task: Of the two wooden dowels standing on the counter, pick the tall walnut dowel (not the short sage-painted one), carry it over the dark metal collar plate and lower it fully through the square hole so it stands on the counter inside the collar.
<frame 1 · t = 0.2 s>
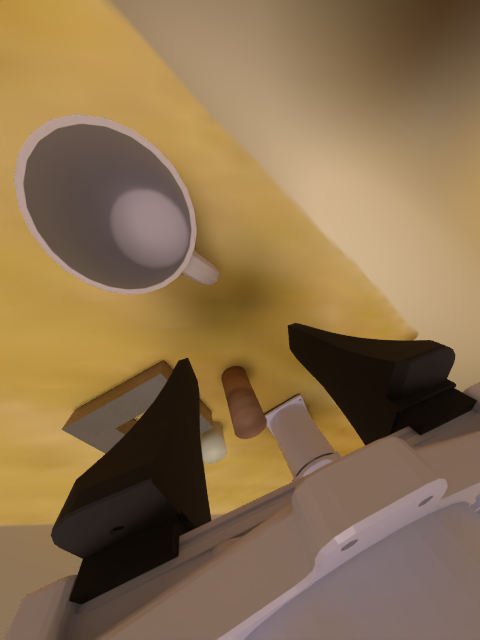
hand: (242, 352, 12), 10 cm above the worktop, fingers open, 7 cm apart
cup: (167, 242, 17), on the worktop
walnut dowel: (233, 376, 25), on the worktop
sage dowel: (211, 429, 29), on the worktop
collar plate: (151, 411, 24), on the worktop
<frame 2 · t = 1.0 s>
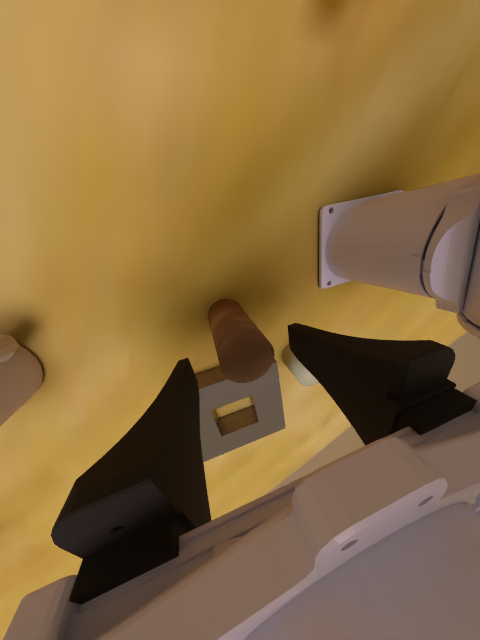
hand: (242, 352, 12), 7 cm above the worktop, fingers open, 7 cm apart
cup: (3, 356, 15), on the worktop
walnut dowel: (225, 315, 18), on the worktop
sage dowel: (293, 353, 23), on the worktop
collar plate: (231, 400, 23), on the worktop
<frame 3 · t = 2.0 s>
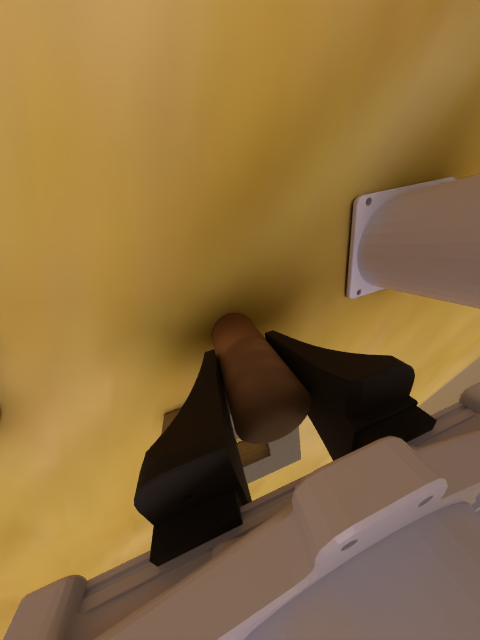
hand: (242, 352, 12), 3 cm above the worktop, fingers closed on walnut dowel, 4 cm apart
walnut dowel: (233, 333, 15), on the worktop, touching gripper
collar plate: (238, 428, 19), on the worktop
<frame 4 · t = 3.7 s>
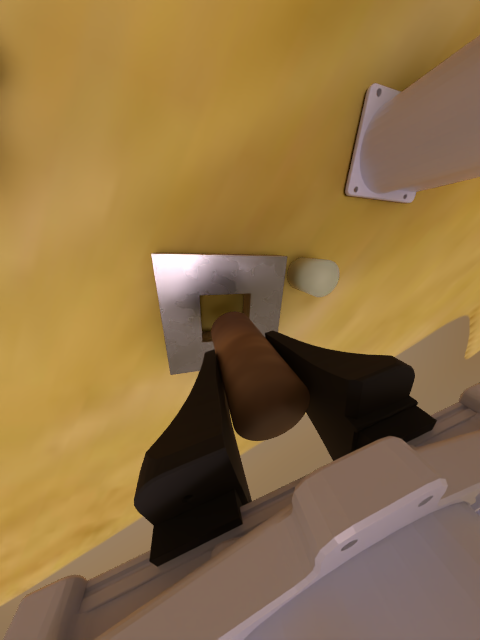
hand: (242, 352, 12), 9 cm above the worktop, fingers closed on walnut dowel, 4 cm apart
walnut dowel: (232, 331, 15), point 6 cm above the worktop, touching gripper
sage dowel: (300, 273, 21), on the worktop
collar plate: (222, 310, 20), on the worktop
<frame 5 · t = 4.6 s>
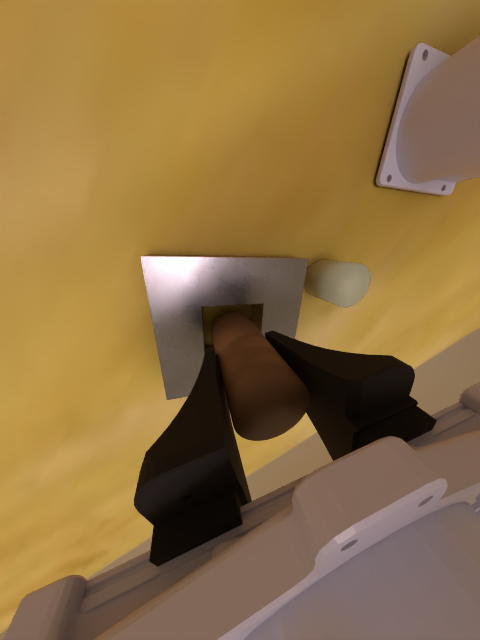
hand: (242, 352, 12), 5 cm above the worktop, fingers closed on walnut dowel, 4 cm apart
walnut dowel: (232, 331, 15), point 2 cm above the worktop, touching gripper
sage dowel: (319, 278, 18), on the worktop
collar plate: (227, 321, 17), on the worktop
when the fingers open (4 cm above the worktop, at t = 5.3 s): walnut dowel stays where it is, resting in collar plate.
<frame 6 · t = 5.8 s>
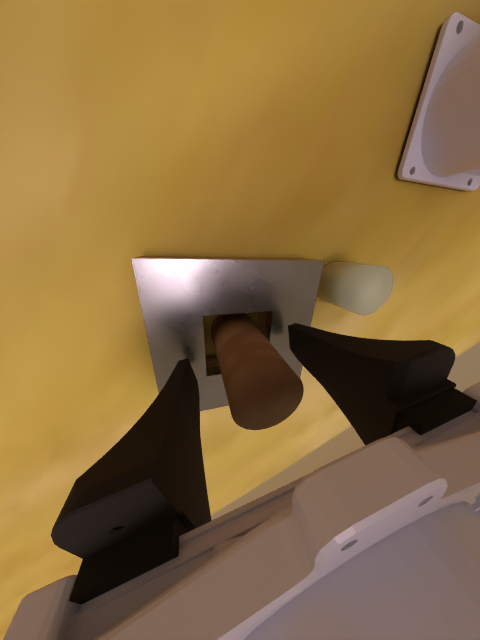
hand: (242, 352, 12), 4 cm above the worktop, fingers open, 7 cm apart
walnut dowel: (231, 328, 15), resting in collar plate
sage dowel: (331, 281, 16), on the worktop
collar plate: (231, 330, 15), on the worktop
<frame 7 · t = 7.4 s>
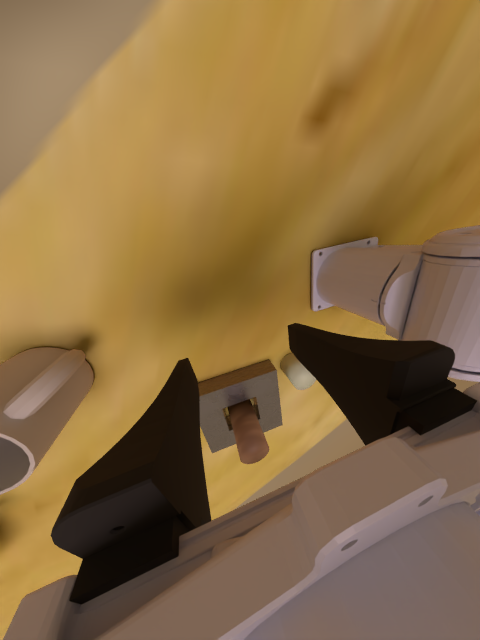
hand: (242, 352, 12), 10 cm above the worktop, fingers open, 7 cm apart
cup: (65, 364, 19), on the worktop
walnut dowel: (237, 399, 27), resting in collar plate
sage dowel: (290, 362, 27), on the worktop
collar plate: (238, 400, 27), on the worktop
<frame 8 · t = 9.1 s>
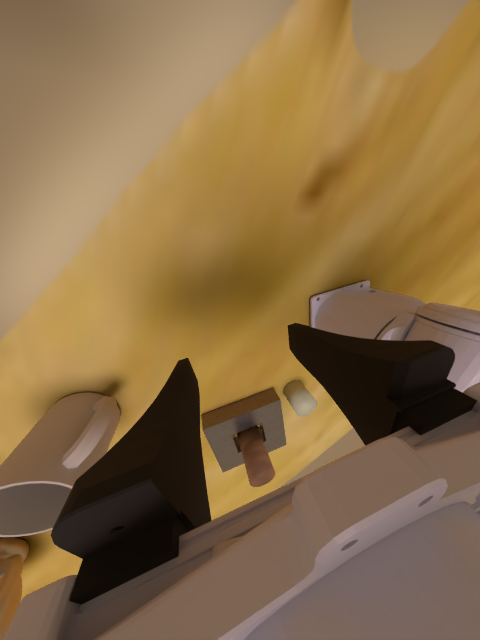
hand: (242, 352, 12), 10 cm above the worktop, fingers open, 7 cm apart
cup: (96, 404, 22), on the worktop
walnut dowel: (245, 423, 30), resting in collar plate
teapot: (3, 543, 26), on the worktop
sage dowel: (292, 388, 30), on the worktop
collar plate: (245, 424, 30), on the worktop
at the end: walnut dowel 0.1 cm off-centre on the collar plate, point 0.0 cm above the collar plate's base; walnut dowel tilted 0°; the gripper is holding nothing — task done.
